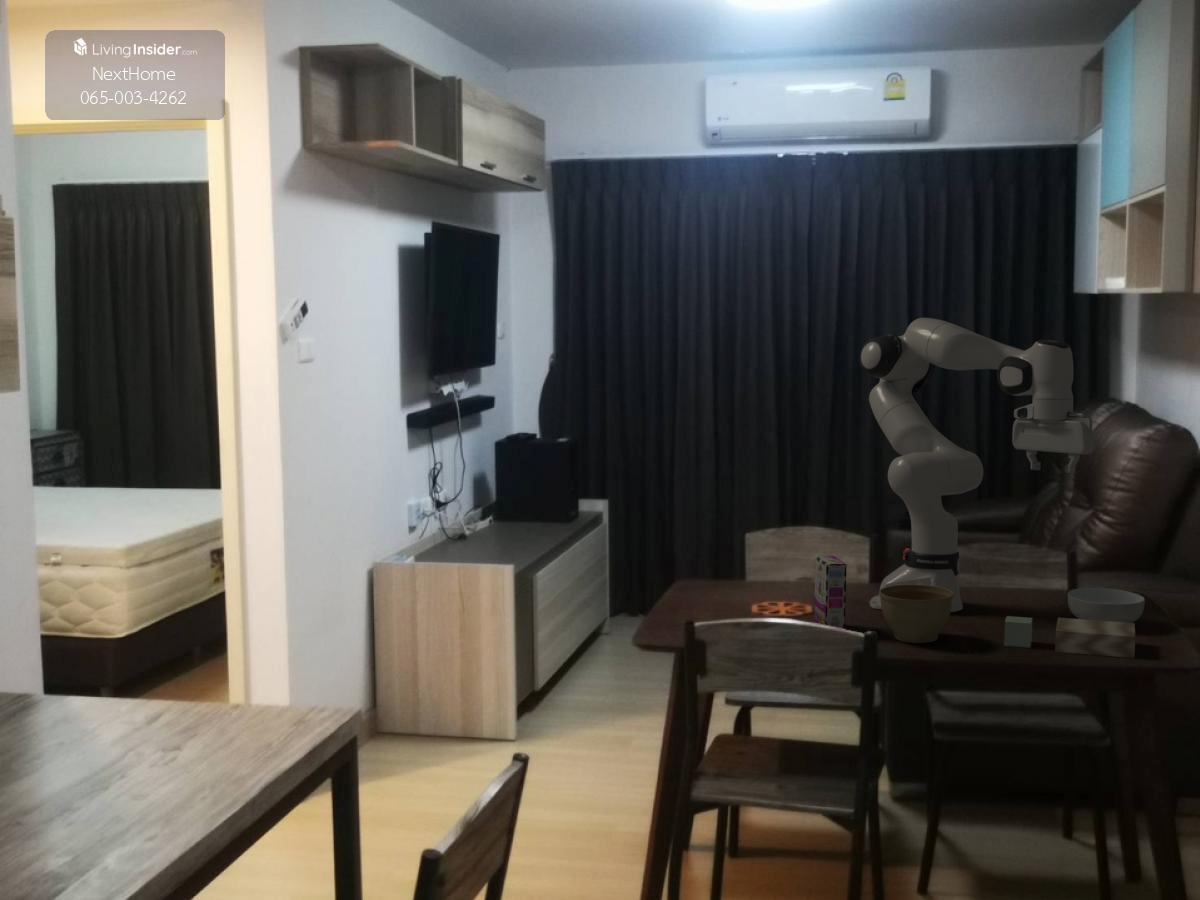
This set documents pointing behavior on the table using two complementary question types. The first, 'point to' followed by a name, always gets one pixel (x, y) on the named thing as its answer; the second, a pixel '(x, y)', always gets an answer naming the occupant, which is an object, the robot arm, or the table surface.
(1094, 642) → the birch riser
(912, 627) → the planter bowl
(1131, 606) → the cereal bowl
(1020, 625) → the sage block
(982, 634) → the table surface
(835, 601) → the candy bar box
